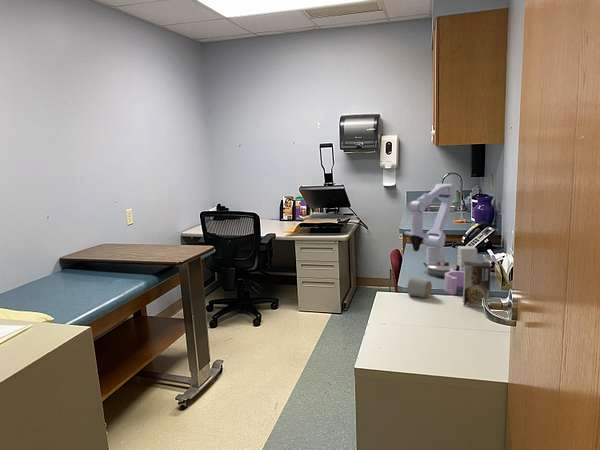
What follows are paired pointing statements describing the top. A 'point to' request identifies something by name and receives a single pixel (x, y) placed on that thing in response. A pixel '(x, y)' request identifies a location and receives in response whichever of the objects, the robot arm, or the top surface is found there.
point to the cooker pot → (439, 272)
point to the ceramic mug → (419, 287)
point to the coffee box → (476, 282)
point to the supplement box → (466, 255)
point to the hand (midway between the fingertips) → (416, 250)
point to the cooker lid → (441, 266)
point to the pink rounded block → (453, 280)
